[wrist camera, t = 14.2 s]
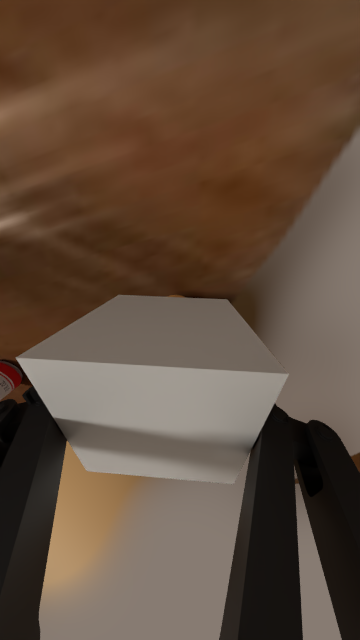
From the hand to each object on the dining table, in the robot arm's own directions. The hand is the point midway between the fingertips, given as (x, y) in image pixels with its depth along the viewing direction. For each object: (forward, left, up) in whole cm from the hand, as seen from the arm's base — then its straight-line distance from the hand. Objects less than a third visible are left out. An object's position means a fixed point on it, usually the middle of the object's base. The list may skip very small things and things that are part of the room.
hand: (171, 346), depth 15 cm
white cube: (0, 0, -1) cm, 1 cm away
